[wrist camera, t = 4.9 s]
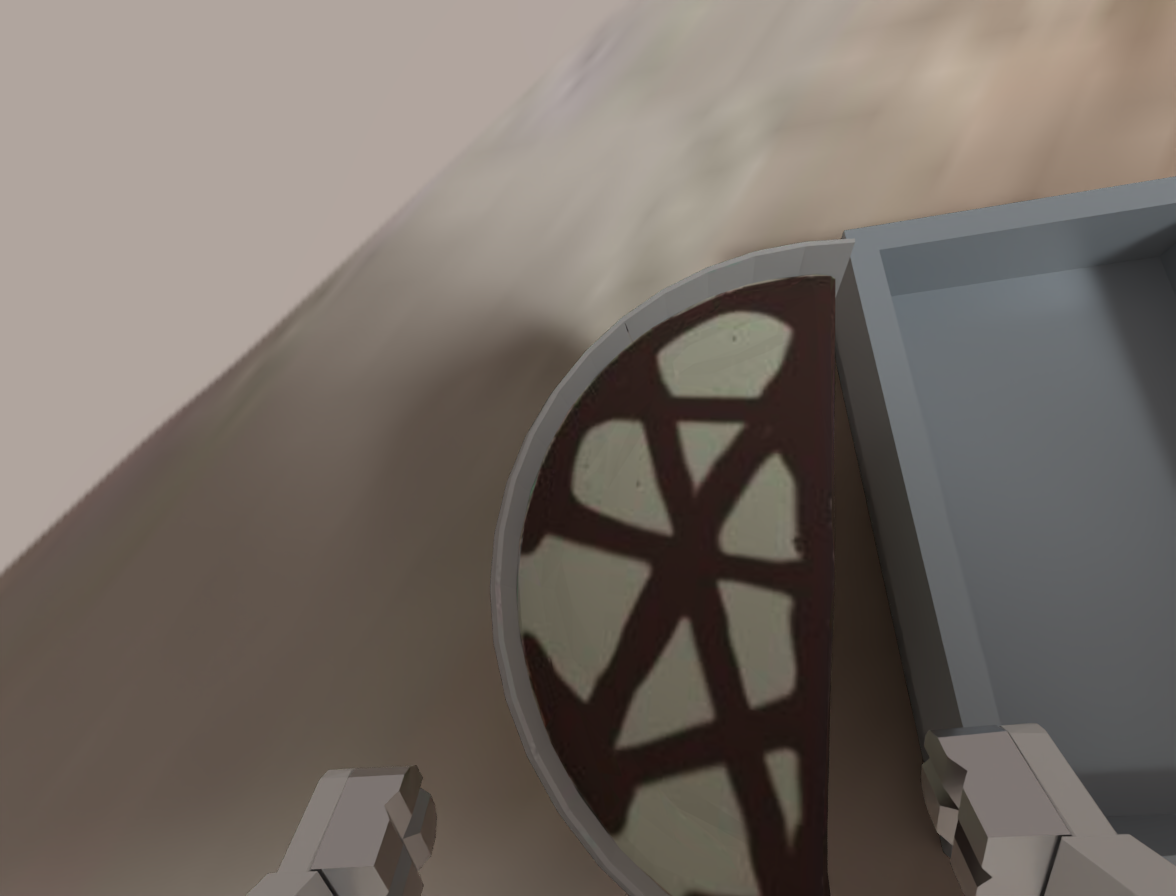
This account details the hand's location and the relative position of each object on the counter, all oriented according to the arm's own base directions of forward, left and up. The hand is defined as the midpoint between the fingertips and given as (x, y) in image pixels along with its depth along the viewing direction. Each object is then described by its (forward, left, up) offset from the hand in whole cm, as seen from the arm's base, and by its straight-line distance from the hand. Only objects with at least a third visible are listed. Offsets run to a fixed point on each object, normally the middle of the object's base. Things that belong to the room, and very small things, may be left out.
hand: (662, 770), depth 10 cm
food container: (0, -3, -9) cm, 10 cm away
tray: (-12, -4, -9) cm, 15 cm away
